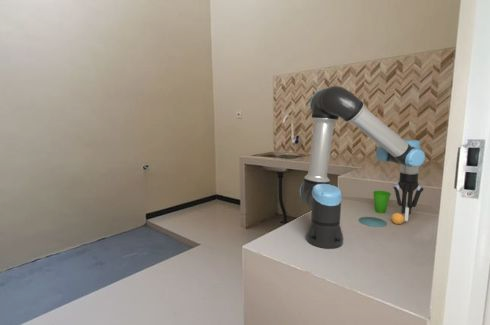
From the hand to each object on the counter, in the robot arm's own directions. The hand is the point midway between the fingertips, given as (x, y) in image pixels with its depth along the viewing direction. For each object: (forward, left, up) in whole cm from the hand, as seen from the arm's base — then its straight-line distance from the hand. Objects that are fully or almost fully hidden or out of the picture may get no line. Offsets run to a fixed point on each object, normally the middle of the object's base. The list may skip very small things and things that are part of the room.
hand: (405, 219), depth 134 cm
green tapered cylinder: (-8, +17, -3) cm, 19 cm away
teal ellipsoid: (-15, 0, -2) cm, 15 cm away
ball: (-3, 0, 0) cm, 3 cm away
